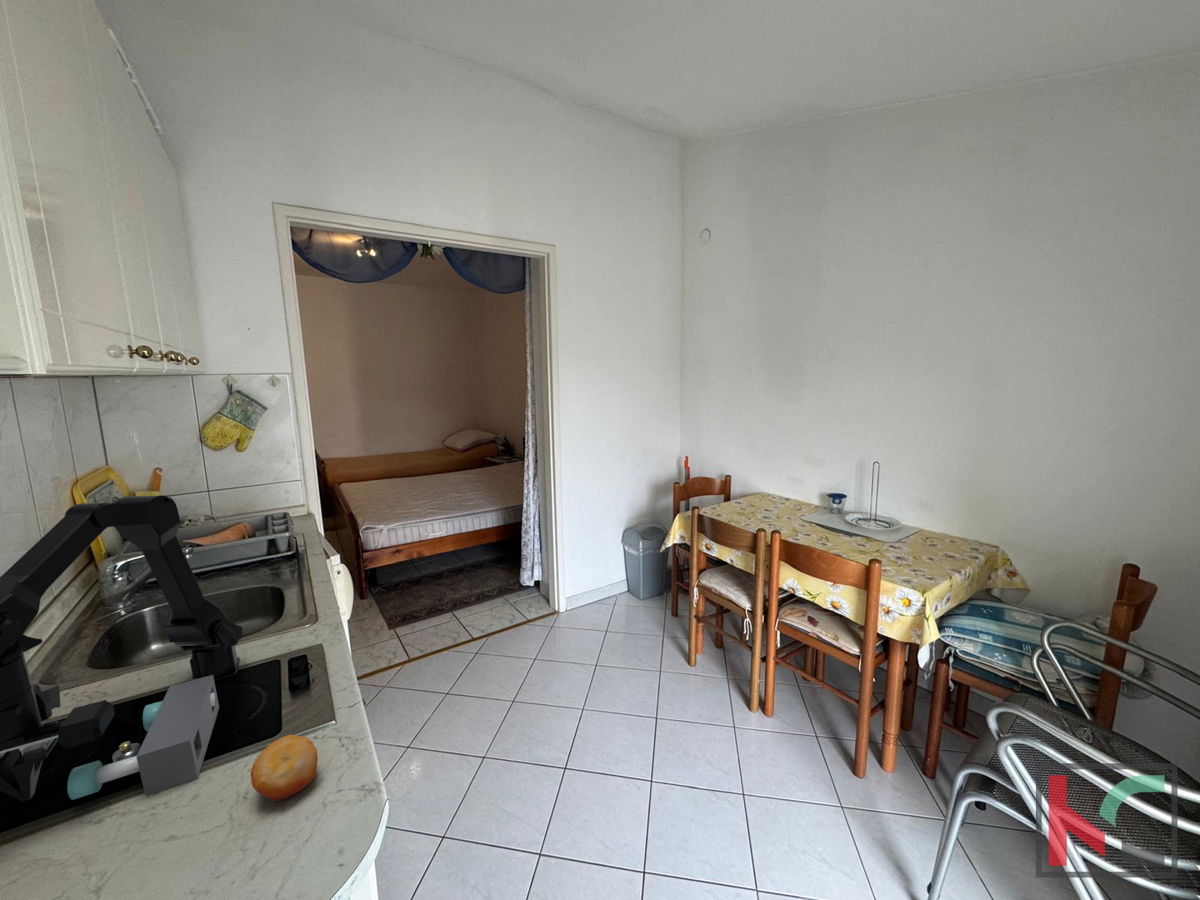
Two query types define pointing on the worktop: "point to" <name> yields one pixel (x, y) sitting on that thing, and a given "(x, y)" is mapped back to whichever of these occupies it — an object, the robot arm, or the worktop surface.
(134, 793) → the worktop surface
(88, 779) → the knob
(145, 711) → the knob
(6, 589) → the robot arm
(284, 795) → the fruit
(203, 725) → the mount
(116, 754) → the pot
